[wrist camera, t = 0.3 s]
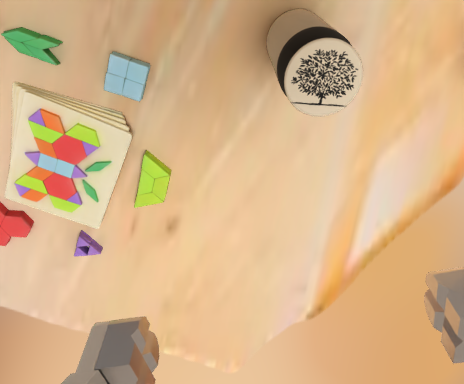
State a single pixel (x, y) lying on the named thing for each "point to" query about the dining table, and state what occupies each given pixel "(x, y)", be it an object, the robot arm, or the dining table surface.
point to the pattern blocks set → (72, 148)
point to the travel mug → (313, 63)
